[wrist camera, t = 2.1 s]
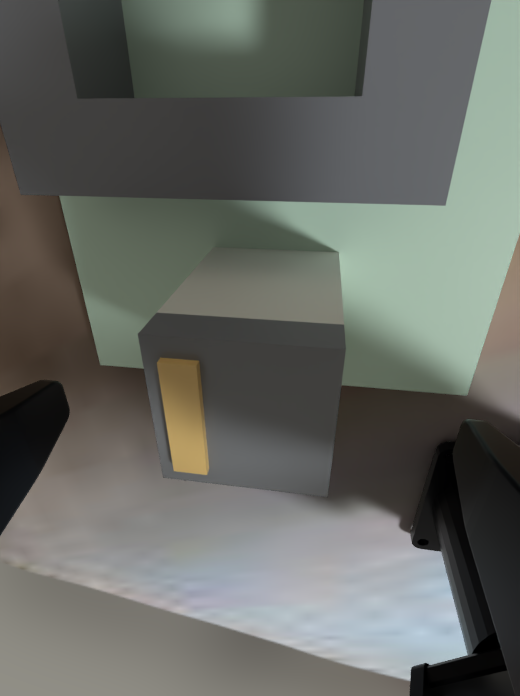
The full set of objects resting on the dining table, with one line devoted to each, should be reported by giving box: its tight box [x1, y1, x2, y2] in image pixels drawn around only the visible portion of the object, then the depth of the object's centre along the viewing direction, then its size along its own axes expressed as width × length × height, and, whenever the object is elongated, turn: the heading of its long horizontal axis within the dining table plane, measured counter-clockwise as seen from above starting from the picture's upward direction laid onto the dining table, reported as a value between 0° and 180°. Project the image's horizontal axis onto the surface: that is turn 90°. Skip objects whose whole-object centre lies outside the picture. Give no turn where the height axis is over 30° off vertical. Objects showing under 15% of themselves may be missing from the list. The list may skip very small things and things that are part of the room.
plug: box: [138, 247, 346, 497], centre depth 11 cm, size 4×4×6 cm
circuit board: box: [59, 0, 520, 396], centre depth 11 cm, size 18×14×1 cm
